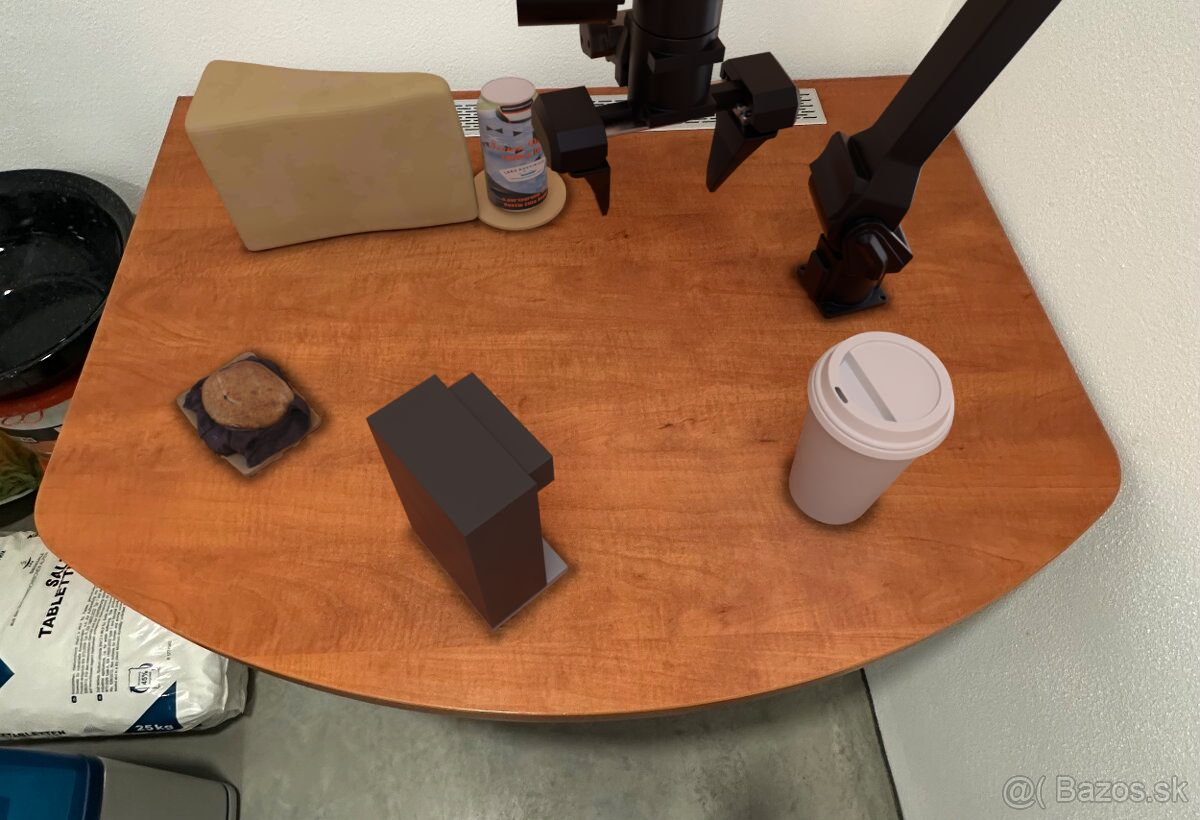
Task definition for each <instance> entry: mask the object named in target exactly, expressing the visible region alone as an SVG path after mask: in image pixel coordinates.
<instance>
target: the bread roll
mask: <svg viewBox="0 0 1200 820" xmlns="http://www.w3.org/2000/svg"><path fill="white" fill-rule="evenodd" d="M291 384H292V383H291V382H289V381H288V379H287V378H286V375H285V372H283V371H282V370H281V369H280V367H279V365H278V364H277V363H275V362H274V361H272V360H270V359H267V358H263V357H260V356H257V355H256V354H255V353H254V352H250V351H246V352H242V353H241V354H240V355H239V356H237V357H235V358H234V359H233V360H231V361H230V362H228V363H226V364H224V365H223V366H220V368H219V369H217V370H215V371H214V372H213V373H211V374H210V375H208V376H206V377H203V378H201V379H199V380H198V381H197V382H196V383H195V384H194V385H192V386H191V387H190V388H188V389H186V390H185V391H184V392H183V393H181V394H179V395H178V397H176V404H177V405H178V407H179V408H180V409H179V410H180V411H181V412H182V414H183V415H184V416H185V417H186V419H187V420H188V421H189V423H190V424H191V425H192V427H193V428H194V429H195V430H197V431H196V432H197V434H198V437H199V438H200V439H201V440H203V441H204V443H205V446H207V447H208V448H209V449H210V450H212V451H213V452H214V455H216V454H217V455H220V458H221V459H225V460H226V461H227V462H228V464H230V465H231V466H232V467H234V468H235V470H237V472H238V473H241V474H242V475H243V476H244V477H246V478H250V477H253V476H254V475H256V474H259V473H261V472H262V470H263V469H265V468H266V467H268V466H269V465H270V464H271V463H272V462H275V461H277V460H278V459H280V458H282V457H283V456H284V453H285V452H287V451H288V450H290V449H291V448H295V447H296V446H298V445H299V444H300V443H301V442H302V440H303V439H305V438H306V437H308V436H309V435H310V434H311V433H312V432H313V431H315V430H317V429H318V428H319V427H320V426H321V425H322V424H323V422H322V417H321V416H320V415H319V414H318V413H317V412H316V411H315V409H314V408H313V407H311V406H310V403H308V402H307V400H306V398H305V397H304V396H303V395H301V393H300V392H299V391H298V390H296V389H295V387H293V386H292V385H291Z"/></svg>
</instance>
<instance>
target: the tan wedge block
mask: <svg viewBox="0 0 1200 820" xmlns="http://www.w3.org/2000/svg"><path fill="white" fill-rule="evenodd" d="M454 100H455V99H454V97H453V94H452V90H451V87H450V84H449V83H448V81H447V80H446V79H445V78H444V77H443V76H441V75H438V74H434V73H430V72H421V71H420V72H419V71H406V72H405V71H399V72H398V71H397V72H395V71H394V72H389V71H388V72H387V71H385V72H380V71H379V72H378V71H377V72H376V71H348V70H347V71H344V70H343V71H342V70H339V71H338V70H320V69H319V70H318V69H303V68H302V69H301V68H291V67H283V66H275V65H269V64H262V63H252V62H245V61H237V60H236V61H235V60H224V59H214V60H211V61H209V62H208V63H207V64H206V66H205V68H204V70H203V71H202V74H201V77H200V79H199V82H198V84H197V87H196V89H195V91H194V94H193V97H192V99H191V102H190V103H189V106H188V109H187V112H186V116H185V119H184V130H185V132H186V133H185V134H186V136H187V137H188V139H189V140H190V143H191V145H192V146H193V149H194V150H195V152H196V154H197V156H198V158H199V160H200V162H201V164H202V166H203V168H204V170H205V171H206V174H207V175H208V177H209V180H210V181H211V183H212V185H213V187H214V190H215V191H216V192H217V195H218V197H219V199H220V200H221V202H222V205H223V206H224V208H225V210H226V212H227V214H228V216H229V217H230V220H231V221H232V224H233V226H234V227H235V229H236V231H237V233H238V235H239V238H241V240H242V243H243V245H244V246H245V248H246V249H247V250H248V251H251V252H259V251H264V250H269V249H275V248H279V247H285V246H289V245H290V246H291V245H295V244H300V243H306V242H310V241H316V240H323V239H327V238H333V237H339V236H344V235H351V234H358V233H367V232H376V231H388V230H389V231H390V230H404V229H405V230H407V229H415V228H425V227H434V226H440V225H447V224H455V223H456V224H457V223H463V222H469V221H473V220H476V219H477V218H478V217H477V216H478V212H479V205H478V199H477V193H476V187H475V182H474V178H475V176H474V171H473V164H472V160H471V155H470V151H469V145H468V142H467V139H466V138H467V137H466V135H465V131H464V128H463V125H462V122H461V119H460V116H459V115H460V114H459V113H458V110H457V109H458V108H457V106H456V103H455V101H454Z"/></svg>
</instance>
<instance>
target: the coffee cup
mask: <svg viewBox="0 0 1200 820" xmlns="http://www.w3.org/2000/svg"><path fill="white" fill-rule="evenodd" d="M807 398H808V406H807V409H806V413H805V417H804V421H803V425H802V429H801V432H800V436H799V439H798V444H797V447H796V451H795V454H794V458H793V462H792V465H791V469H790V472H789V477H788V488H789V489H788V490H789V492H790V495H791V497H792V500H793V502H794V503H795V505H796V506H797V507H798V508H799V510H801V511H802V512H803V513H804V514H805V515H806V516H808V517H809V518H811V519H813V520H815V521H817V522H819V523H823V524H825V525H827V524H828V525H832V526H833V525H837V526H838V525H846V524H849V523H852V522H854V521H856V520H857V519H859V518H861V517H862V516H863V515H864V514H865V513H866V512H867V510H869V509H870V507H871V506H872V505H873V504H874V503H875V502H876V501H877V500H878V499H879V498H880V497H881V496H882V495H883V494H884V492H886V491H887V490H888V488H889V487H890V486H891V485H892V484H893V483H894V482H895V481H896V480H897V479H898V478H899V477H900V476H901V475H902V473H903V472H904V471H906V470H907V468H908V467H909V466H910V465H911V464H912V463H913V462H914V461H915V460H916V459H917V458H919V457H921V456H924V455H926V454H928V453H930V452H932V451H933V450H935V449H936V448H937V447H939V446H940V445H941V444H942V443H943V442H944V440H945V439H946V438H947V436H948V435H949V433H950V431H951V428H952V426H953V422H954V416H955V395H954V391H953V384H952V380H951V377H950V374H949V372H948V370H947V368H946V366H945V365H944V364H943V363H942V361H941V360H940V359H939V358H938V356H937V355H936V354H935V353H934V352H932V351H931V350H930V349H929V348H928V347H926V346H925V345H923V344H922V343H920V342H918V341H916V340H914V339H912V338H910V337H908V336H905V335H901V334H898V333H895V332H889V331H875V330H873V331H865V332H861V333H857V334H855V335H852V336H850V337H848V338H846V339H844V340H841V341H840V342H838V343H835V344H834V345H832V346H831V347H829V348H828V349H827V350H826V351H825V352H824V353H823V354H822V355H821V356H820V357H819V358H818V359H817V360H816V361H815V362H814V364H813V366H812V368H811V369H810V372H809V375H808V379H807Z"/></svg>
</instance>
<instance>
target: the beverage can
mask: <svg viewBox="0 0 1200 820" xmlns="http://www.w3.org/2000/svg"><path fill="white" fill-rule="evenodd" d="M538 94H539V92H537V91H536V87H535V84H534V83H533V82H532V81H530V80H528V79H527V78H523V77H519V76H501V77H497V78H493V79H491V80H489V81H487V82H485V83H483V85H482V86H481V88H480V94H479V96H478V98H477V101H476V106H475V109H476V117H477V124H478V132H479V140H480V148H481V155H482V163H483V170H484V172H485V180H486V187H487V195H488V198H489V200H490V201H491V202H492V203H493V204H494V205H496V206H497V207H500V208H502V209H504V210H507V211H512V212H522V211H527V210H530V209H532V208H534V207H536V206H537V205H539V204H540V203H541V202H543V201H544V200H545V198H546V197H547V194H548V184H547V168H546V166H547V159H546V157H545V155H544V152H543V150H542V148H541V145H540V143H539V141H538V138H537V136H536V134H535V131H534V129H533V127H532V118H531V105H532V103H533V102H534V100H535V98H536V97H537V96H538Z"/></svg>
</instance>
